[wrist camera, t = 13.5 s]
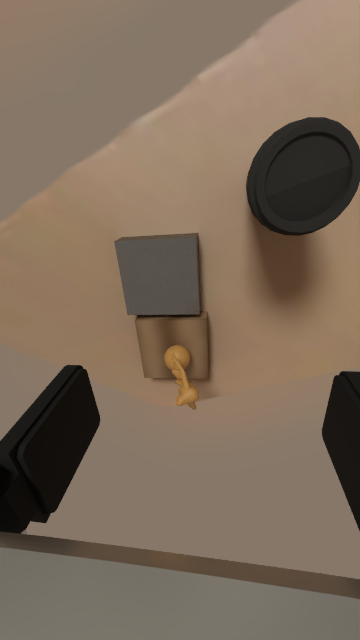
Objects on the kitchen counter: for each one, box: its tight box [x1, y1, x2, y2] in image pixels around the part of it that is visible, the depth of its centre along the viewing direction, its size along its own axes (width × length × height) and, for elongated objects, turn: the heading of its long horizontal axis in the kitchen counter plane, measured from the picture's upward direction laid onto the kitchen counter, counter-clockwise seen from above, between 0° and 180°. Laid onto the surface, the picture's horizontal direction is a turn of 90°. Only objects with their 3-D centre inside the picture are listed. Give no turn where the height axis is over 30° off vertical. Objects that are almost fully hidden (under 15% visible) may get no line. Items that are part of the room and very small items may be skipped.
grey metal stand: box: [114, 233, 201, 315], centre depth 39 cm, size 11×11×3 cm
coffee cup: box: [246, 117, 360, 236], centre depth 26 cm, size 8×8×15 cm
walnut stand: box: [135, 312, 209, 379], centre depth 44 cm, size 11×11×3 cm
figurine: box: [164, 345, 199, 410], centre depth 37 cm, size 8×6×12 cm
